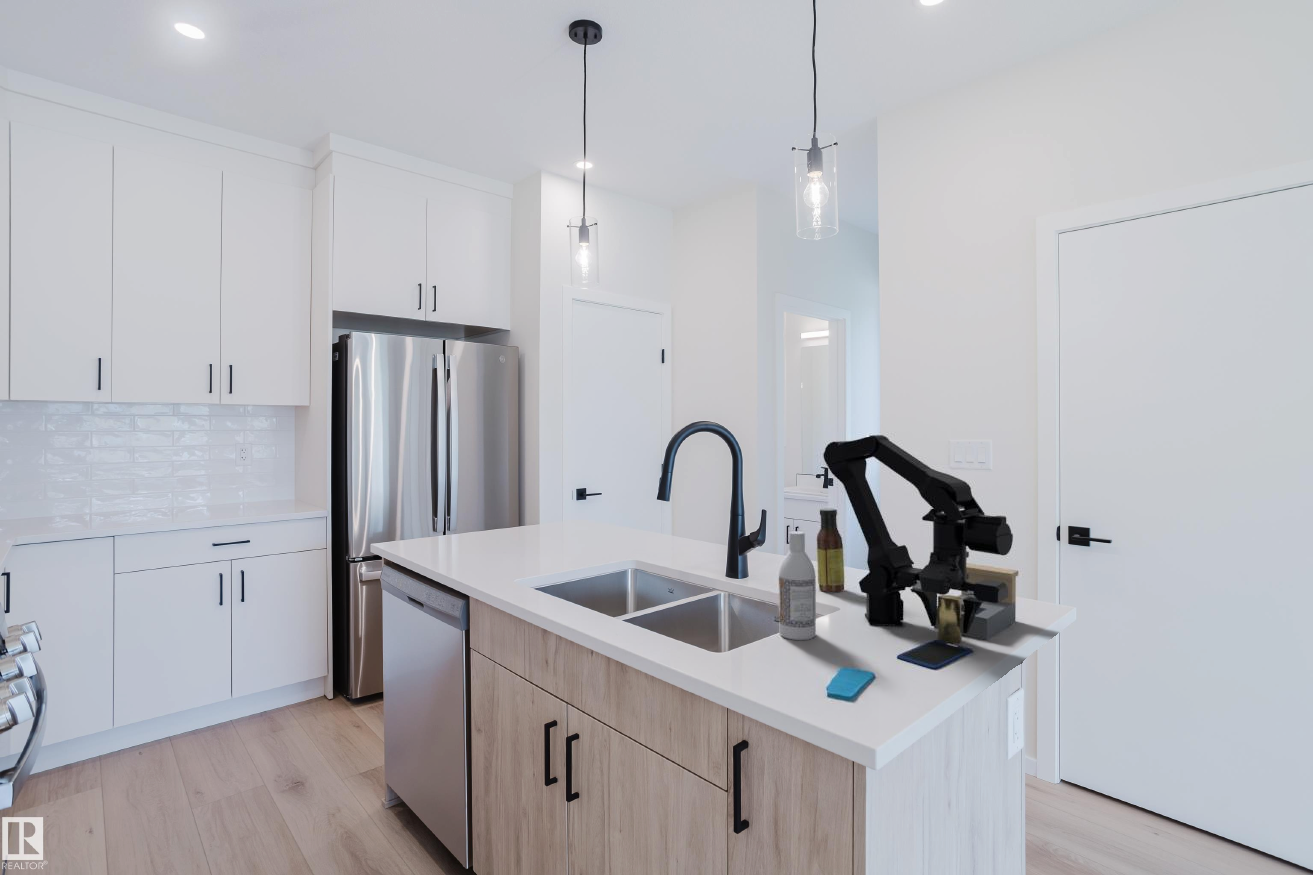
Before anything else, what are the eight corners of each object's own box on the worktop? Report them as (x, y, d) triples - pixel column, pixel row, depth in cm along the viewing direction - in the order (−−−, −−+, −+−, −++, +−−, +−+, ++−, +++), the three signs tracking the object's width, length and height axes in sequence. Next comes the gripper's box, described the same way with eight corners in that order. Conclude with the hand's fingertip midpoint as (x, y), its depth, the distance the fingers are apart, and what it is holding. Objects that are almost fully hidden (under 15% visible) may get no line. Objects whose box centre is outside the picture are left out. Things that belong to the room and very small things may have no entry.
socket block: (989, 640, 122) (990, 584, 122) (931, 627, 130) (931, 575, 130) (1018, 621, 133) (1018, 570, 133) (962, 610, 141) (962, 562, 141)
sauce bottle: (847, 589, 160) (847, 508, 159) (839, 594, 155) (839, 511, 154) (822, 585, 164) (821, 506, 163) (813, 590, 158) (812, 509, 158)
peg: (941, 643, 121) (941, 600, 121) (935, 636, 125) (935, 594, 125) (964, 644, 120) (964, 601, 120) (957, 636, 124) (957, 595, 124)
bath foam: (783, 627, 131) (783, 528, 130) (818, 631, 128) (818, 530, 127) (775, 638, 124) (774, 534, 124) (811, 643, 122) (811, 536, 121)
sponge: (813, 690, 99) (851, 694, 96) (840, 665, 109) (875, 669, 106) (814, 700, 99) (852, 705, 96) (841, 674, 109) (876, 678, 106)
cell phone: (974, 653, 117) (974, 649, 117) (935, 672, 108) (935, 668, 108) (935, 642, 122) (935, 638, 122) (894, 660, 114) (894, 655, 114)
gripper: (882, 546, 123) (882, 627, 124) (986, 560, 110) (986, 652, 110) (908, 538, 131) (908, 615, 131) (1009, 551, 118) (1008, 636, 118)
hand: (949, 629), depth 123 cm, fingers open, 6 cm apart
